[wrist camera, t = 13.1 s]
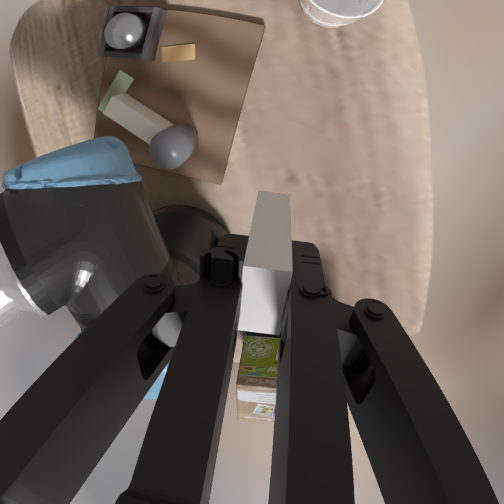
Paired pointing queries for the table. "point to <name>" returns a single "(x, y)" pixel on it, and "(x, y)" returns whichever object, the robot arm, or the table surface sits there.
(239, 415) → the tea box
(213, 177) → the board
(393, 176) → the table surface
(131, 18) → the button
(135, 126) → the peg lever
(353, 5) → the white cup
